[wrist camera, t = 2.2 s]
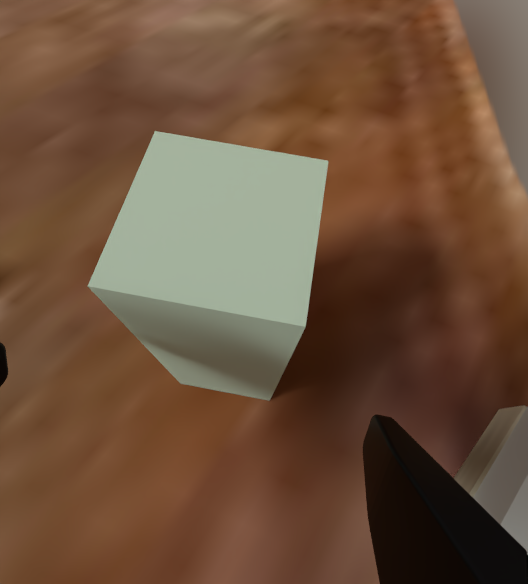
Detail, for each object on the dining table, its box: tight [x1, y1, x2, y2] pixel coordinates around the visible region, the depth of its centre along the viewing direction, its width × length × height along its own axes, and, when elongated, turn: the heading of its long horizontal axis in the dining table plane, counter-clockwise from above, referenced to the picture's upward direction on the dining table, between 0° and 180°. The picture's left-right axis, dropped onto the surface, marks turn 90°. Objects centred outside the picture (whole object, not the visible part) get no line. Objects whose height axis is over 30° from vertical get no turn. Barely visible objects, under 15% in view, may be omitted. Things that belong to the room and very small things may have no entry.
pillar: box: [88, 131, 328, 401], centre depth 15 cm, size 5×5×12 cm
